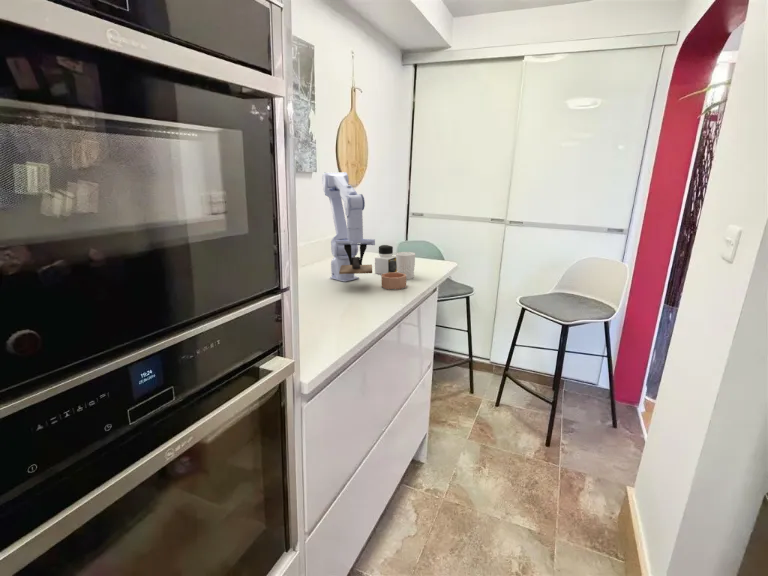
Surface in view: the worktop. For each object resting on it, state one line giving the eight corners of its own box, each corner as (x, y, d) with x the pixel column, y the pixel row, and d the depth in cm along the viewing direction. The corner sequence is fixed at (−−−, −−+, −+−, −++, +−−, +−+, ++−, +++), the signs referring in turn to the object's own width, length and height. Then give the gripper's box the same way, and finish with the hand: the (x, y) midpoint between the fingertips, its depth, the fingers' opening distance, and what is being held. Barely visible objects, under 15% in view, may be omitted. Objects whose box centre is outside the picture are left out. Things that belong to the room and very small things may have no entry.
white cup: (415, 275, 180) (415, 252, 177) (414, 279, 173) (414, 255, 170) (396, 275, 181) (396, 251, 178) (395, 279, 173) (395, 255, 171)
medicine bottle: (388, 275, 181) (388, 247, 177) (374, 273, 184) (374, 246, 181) (397, 272, 186) (397, 244, 183) (383, 270, 190) (383, 243, 187)
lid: (339, 273, 155) (338, 260, 153) (341, 267, 166) (340, 255, 165) (372, 273, 155) (372, 260, 154) (371, 266, 167) (371, 254, 165)
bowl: (376, 286, 163) (376, 275, 162) (392, 282, 169) (392, 271, 168) (394, 290, 157) (394, 279, 155) (410, 286, 163) (410, 274, 162)
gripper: (334, 229, 153) (335, 267, 156) (374, 229, 153) (375, 266, 157) (335, 227, 159) (337, 263, 163) (374, 226, 160) (375, 262, 163)
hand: (356, 264), depth 160 cm, fingers closed on lid, 3 cm apart
